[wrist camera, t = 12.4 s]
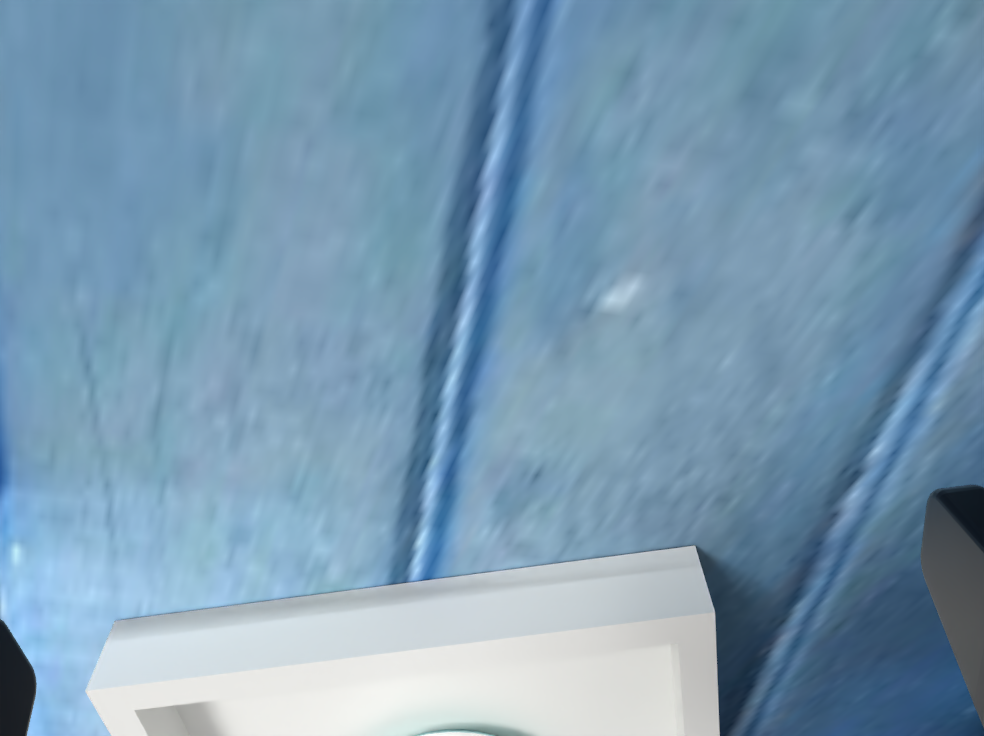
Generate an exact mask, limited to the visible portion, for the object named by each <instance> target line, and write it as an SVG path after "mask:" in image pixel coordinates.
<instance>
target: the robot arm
mask: <svg viewBox="0 0 984 736" xmlns="http://www.w3.org/2000/svg"><path fill="white" fill-rule="evenodd" d="M921 565H922V571H923V575H924V578H925V581H926V584H927V586H928V589H929V591H930V594H931V596H932V599H933V602H934V604H935V607H936V609H937V612H938V614H939V617H940V619H941V622H942V624H943V627H944V629H945V632H946V635H947V637H948V640H949V642H950V645H951V647H952V650H953V652H954V655H955V657H956V660H957V663H958V665H959V668H960V670H961V673H962V675H963V678H964V680H965V683H966V685H967V688H968V690H969V693H970V696H971V698H972V701H973V703H974V706H975V708H976V710H977V713H978V715H979V717H980V720H981V722H982V725H983V727H984V488H983V487H981V486H978V485H964V486H957V487H949V488H941V489H937V490H935V491H933V492H932V493H931V494H930V496H929V498H928V501H927V506H926V514H925V523H924V531H923V539H922V547H921ZM35 695H36V677H35V673H34V670H33V668H32V666H31V664H30V662H29V661H28V659H27V658H26V656H25V654H24V653H23V651H22V649H21V648H20V646H19V645H18V643H17V641H16V640H15V638H14V637H13V635H12V633H11V632H10V630H9V629H8V627H7V625H6V624H5V623H4V621H2V620H1V619H0V736H27V731H28V727H29V722H30V718H31V714H32V709H33V705H34V700H35Z"/></svg>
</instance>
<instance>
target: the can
mask: <svg viewBox="0 0 984 736" xmlns="http://www.w3.org/2000/svg"><path fill="white" fill-rule="evenodd" d="M414 736H495V735H492V734H489V733H485V732H480V731H474V730H465V729H445V730H436V731H430V732H425V733H421V734H417V735H414Z"/></svg>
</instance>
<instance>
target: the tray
mask: <svg viewBox="0 0 984 736" xmlns="http://www.w3.org/2000/svg"><path fill="white" fill-rule="evenodd" d="M86 693H87V695H88V696H89V698H90V700H91V702H92V703H93V705H94V707H95V708H96V710H97V712H98V714H99V715H100V717H101V719H102V720H103V722H104V724H105V726H106V727H107V729H108V731H109V732H110V734H111V736H414V735H417V734H421V733H425V732H430V731H436V730H445V729H465V730H474V731H480V732H485V733H489V734H492V735H495V736H720V731H719V704H718V678H717V651H716V624H715V610H714V607H713V604H712V600H711V597H710V594H709V590H708V587H707V584H706V580H705V577H704V574H703V570H702V567H701V564H700V560H699V557H698V554H697V550H696V547H695V546H688V547H680V548H673V549H665V550H657V551H649V552H642V553H634V554H626V555H619V556H611V557H603V558H595V559H588V560H580V561H572V562H565V563H557V564H549V565H541V566H534V567H526V568H518V569H511V570H503V571H495V572H487V573H480V574H472V575H464V576H457V577H449V578H441V579H433V580H426V581H418V582H410V583H403V584H395V585H387V586H379V587H372V588H364V589H356V590H349V591H341V592H333V593H325V594H318V595H310V596H302V597H295V598H287V599H279V600H271V601H264V602H256V603H248V604H240V605H233V606H225V607H217V608H210V609H202V610H194V611H186V612H179V613H171V614H163V615H156V616H148V617H140V618H132V619H125V620H117V621H114V624H113V626H112V629H111V631H110V633H109V636H108V638H107V641H106V643H105V645H104V648H103V650H102V652H101V655H100V657H99V660H98V662H97V664H96V667H95V669H94V671H93V674H92V676H91V679H90V681H89V683H88V686H87V688H86Z"/></svg>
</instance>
